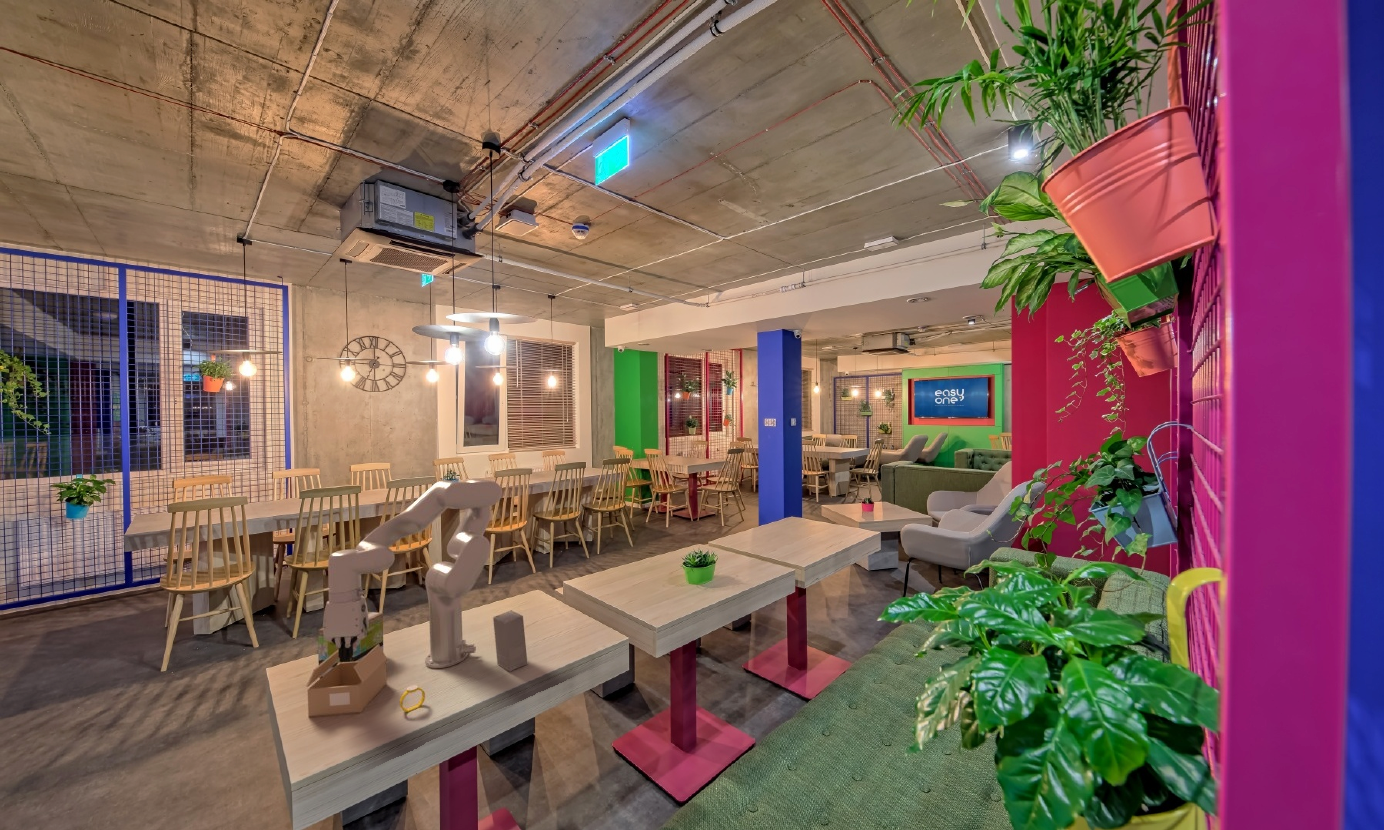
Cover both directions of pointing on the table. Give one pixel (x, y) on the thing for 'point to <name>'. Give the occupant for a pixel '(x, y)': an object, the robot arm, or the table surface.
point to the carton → (344, 690)
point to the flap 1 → (323, 667)
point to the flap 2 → (370, 663)
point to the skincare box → (510, 640)
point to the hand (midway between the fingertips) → (345, 659)
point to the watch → (410, 690)
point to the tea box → (359, 646)
